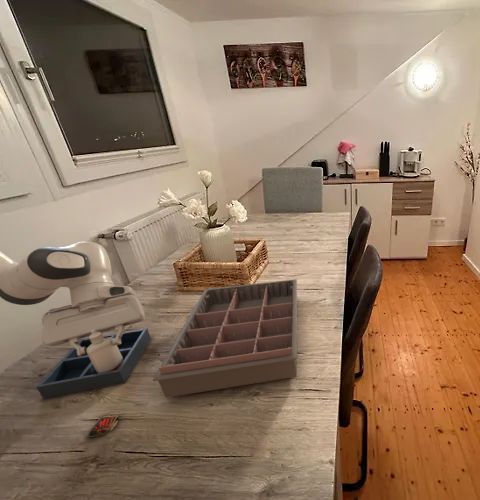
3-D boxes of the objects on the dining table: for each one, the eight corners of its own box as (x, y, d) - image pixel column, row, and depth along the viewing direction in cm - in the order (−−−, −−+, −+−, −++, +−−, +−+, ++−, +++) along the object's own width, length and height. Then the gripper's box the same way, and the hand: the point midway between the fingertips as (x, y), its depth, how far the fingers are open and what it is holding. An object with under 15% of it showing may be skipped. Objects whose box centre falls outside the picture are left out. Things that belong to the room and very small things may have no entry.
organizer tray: (299, 297, 107) (296, 274, 103) (300, 382, 70) (296, 352, 66) (210, 307, 102) (203, 284, 98) (162, 405, 66) (148, 374, 62)
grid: (43, 399, 68) (35, 387, 67) (86, 349, 84) (80, 339, 82) (125, 383, 72) (119, 371, 70) (151, 338, 88) (147, 328, 86)
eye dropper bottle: (122, 367, 74) (104, 331, 69) (95, 376, 72) (75, 339, 67) (125, 357, 78) (108, 321, 73) (99, 365, 75) (81, 329, 70)
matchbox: (86, 440, 58) (85, 438, 58) (97, 418, 63) (96, 416, 63) (113, 432, 60) (112, 430, 60) (122, 411, 64) (121, 410, 64)
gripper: (33, 308, 68) (37, 365, 64) (135, 284, 77) (144, 333, 73) (48, 314, 73) (52, 367, 69) (142, 291, 82) (150, 337, 78)
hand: (100, 349), depth 71 cm, fingers closed on eye dropper bottle, 5 cm apart
